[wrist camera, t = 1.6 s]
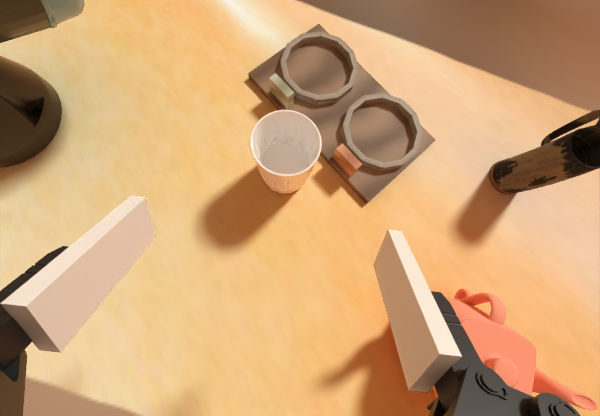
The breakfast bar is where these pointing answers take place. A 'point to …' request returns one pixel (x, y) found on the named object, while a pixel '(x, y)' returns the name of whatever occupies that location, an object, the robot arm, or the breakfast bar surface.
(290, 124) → the white cup
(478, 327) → the teapot
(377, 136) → the board
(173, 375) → the breakfast bar surface
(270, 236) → the breakfast bar surface
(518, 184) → the mug
